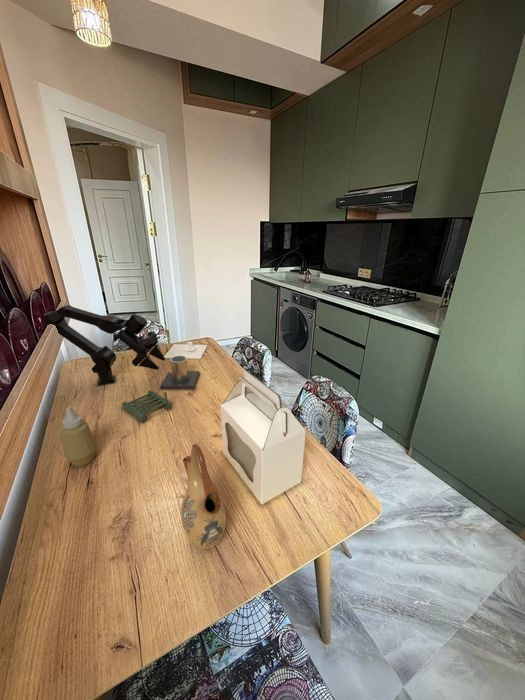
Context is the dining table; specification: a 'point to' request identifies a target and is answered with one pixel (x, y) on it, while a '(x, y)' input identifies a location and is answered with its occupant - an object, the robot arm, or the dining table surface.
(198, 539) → the ceramic vessel
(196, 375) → the hob
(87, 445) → the squeeze bottle
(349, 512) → the dining table surface
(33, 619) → the dining table surface
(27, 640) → the dining table surface
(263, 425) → the gable box
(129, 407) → the dish rack
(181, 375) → the steel pot
